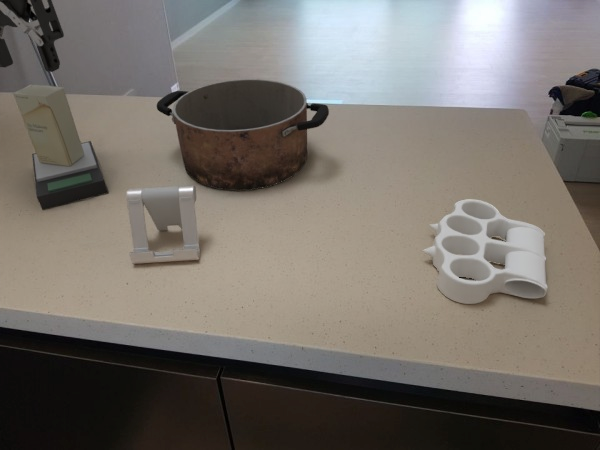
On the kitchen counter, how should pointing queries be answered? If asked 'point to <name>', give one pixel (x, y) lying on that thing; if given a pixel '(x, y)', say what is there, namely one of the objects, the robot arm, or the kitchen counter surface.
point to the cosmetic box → (49, 124)
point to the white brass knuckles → (487, 254)
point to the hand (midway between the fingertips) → (29, 68)
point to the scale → (69, 180)
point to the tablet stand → (163, 221)
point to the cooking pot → (242, 131)
